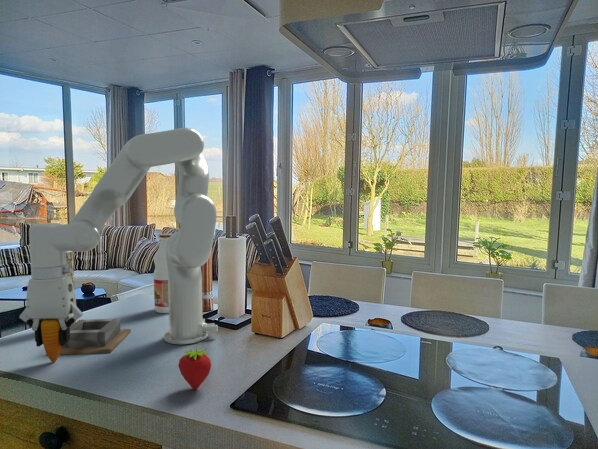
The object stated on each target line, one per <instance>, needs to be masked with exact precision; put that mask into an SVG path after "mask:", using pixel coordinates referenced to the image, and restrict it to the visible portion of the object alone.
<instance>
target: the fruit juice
mask: <svg viewBox="0 0 598 449" xmlns="http://www.w3.org/2000/svg"><path fill="white" fill-rule="evenodd" d="M172 234H173V233H166V232H165V233H160V234H159V235H158V237H159V240H160V242H159V246H158V249H157V250H156V252H155V254H154V256H153V263H154V271H153V292H154V293H153V294H154V296H153V298H154V311H155V312H156V313H159V314H169V296H168V269H167V260H166V251H165V250H166V243H167V241H168V239H169V237H170V236H171V235H172Z"/></svg>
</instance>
